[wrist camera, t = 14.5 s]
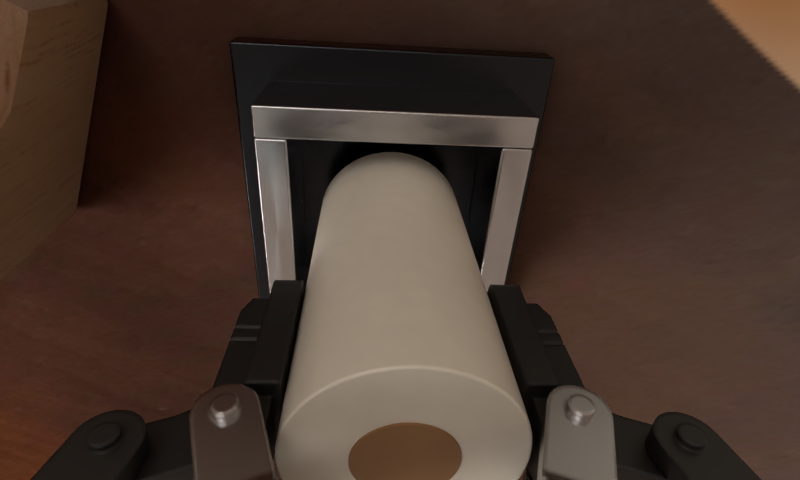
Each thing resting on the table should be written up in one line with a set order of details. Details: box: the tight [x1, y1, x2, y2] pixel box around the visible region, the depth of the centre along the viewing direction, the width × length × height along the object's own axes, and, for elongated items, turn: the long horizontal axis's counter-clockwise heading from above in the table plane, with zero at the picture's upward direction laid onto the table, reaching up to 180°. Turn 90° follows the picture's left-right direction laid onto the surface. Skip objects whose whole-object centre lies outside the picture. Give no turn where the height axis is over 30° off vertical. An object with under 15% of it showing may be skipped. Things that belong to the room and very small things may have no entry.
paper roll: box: [275, 152, 533, 480], centre depth 14 cm, size 5×5×10 cm
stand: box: [230, 37, 555, 299], centre depth 18 cm, size 11×11×4 cm
